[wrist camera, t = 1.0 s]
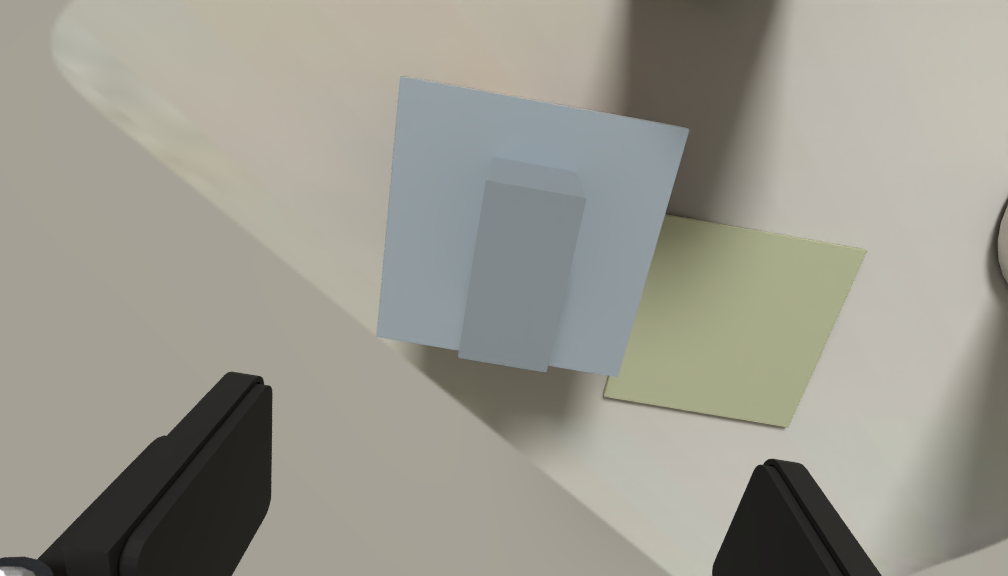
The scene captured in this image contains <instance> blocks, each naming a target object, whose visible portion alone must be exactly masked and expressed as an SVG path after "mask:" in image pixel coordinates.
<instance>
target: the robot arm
mask: <svg viewBox="0 0 1008 576" xmlns="http://www.w3.org/2000/svg"><path fill="white" fill-rule="evenodd" d="M998 260H999V264H1000V267H1001V270H1002V274H1003V276H1004V278H1005V280H1006V281H1007V283H1008V205H1007V208H1006V211H1005V213H1004V216H1003V219H1002V221H1001V225H1000V231H999V237H998ZM271 459H272V388H271V386H268V385H264V381H263V378H262V377H261V376H255V375H249V374H242V373H236V372H228V373H227V374H225V375H224V377H222V379H220V381H219V382H218V383H217V384H216V385H215V386H214V387H213V388H212V389H211V390H210V391H209V392H208V393H207V394H206V395H205V396H204V397H203V398H202V399H201V401H200V402H199V403H198V404H197V405H196V406H195V407H194V408H193V409H192V410H191V411H190V412H189V413H188V414H187V415H186V416H185V417H184V418H183V419H182V420H181V422H180V423H179V424H178V425H177V426H176V427H175V428H174V429H173V430H172V431H171V432H170V433H169V434H168V435H167V436H162V437H159V438H157V439H156V440H154V441H153V442H152V443H151V444H150V445H149V446H148V447H147V448H146V449H145V450H144V451H143V452H142V453H141V454H140V455H139V456H138V457H137V458H136V459H135V460H134V461H133V462H132V463H131V464H130V465H129V466H128V467H127V468H126V469H125V470H124V471H123V472H122V473H121V474H120V475H119V476H118V477H117V479H115V480H114V481H113V483H111V485H110V486H108V488H107V489H106V490H105V491H104V492H103V493H102V494H101V495H100V496H99V497H98V498H97V499H96V500H95V501H94V502H93V503H92V504H91V505H90V506H89V507H88V508H87V509H86V510H85V511H84V512H83V513H82V514H81V515H80V516H79V517H78V518H77V519H76V520H75V521H74V522H73V523H72V525H70V526H69V527H68V528H67V530H66V531H65V532H64V533H63V534H62V535H61V536H60V537H59V538H58V539H57V540H56V541H55V542H54V543H53V544H52V545H51V546H50V547H49V548H48V549H47V550H46V551H45V552H44V553H43V554H42V555H41V556H40V557H39V558H38V559H32V558H28V557H4V558H0V576H232V574H233V572H234V571H235V569H236V567H237V565H238V564H239V562H240V560H241V558H242V556H243V555H244V553H245V551H246V549H247V548H248V546H249V544H250V542H251V540H252V539H253V537H254V535H255V534H256V532H257V530H258V528H259V526H260V525H261V523H262V521H263V519H264V518H265V516H266V514H267V511H268V508H269V505H270V500H271V464H272V463H271V462H272V461H271ZM712 576H881V574H880V573H879V571H878V570H877V568H876V567H875V566H874V564H873V563H872V561H871V560H870V558H869V557H868V556H867V554H866V553H865V551H864V550H863V549H862V547H861V546H860V544H859V543H858V541H857V540H856V539H855V537H854V536H853V534H852V533H851V531H850V530H849V529H848V527H847V526H846V524H845V523H844V522H843V520H842V519H841V517H840V516H839V514H838V513H837V512H836V510H835V509H834V507H833V506H832V504H831V503H830V502H829V500H828V499H827V497H826V496H825V494H824V493H823V492H822V490H821V489H820V487H819V486H818V485H817V483H816V482H815V480H814V479H813V477H812V476H811V475H810V473H809V472H808V470H807V469H806V468H805V467H804V466H803V465H802V464H800V463H796V462H789V461H783V460H777V459H768V460H767V461H765V463H764V464H763V465H758V466H757V467H756V468H755V470H754V471H753V474H752V476H751V478H750V481H749V483H748V485H747V488H746V490H745V492H744V495H743V497H742V499H741V501H740V504H739V506H738V508H737V511H736V513H735V515H734V518H733V520H732V522H731V525H730V527H729V529H728V532H727V534H726V536H725V538H724V541H723V543H722V545H721V548H720V550H719V552H718V555H717V557H716V559H715V562H714V564H713V570H712Z"/></svg>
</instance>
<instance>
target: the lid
mask: <svg viewBox="0 0 1008 576" xmlns="http://www.w3.org/2000/svg"><path fill="white" fill-rule="evenodd" d="M689 130H690V129H687V128H685V127H682V126H676V125H671V124H665V123H660V122H654V121H649V120H643V119H638V118H632V117H627V116H621V115H616V114H610V113H605V112H599V111H594V110H588V109H583V108H577V107H572V106H566V105H561V104H555V103H550V102H544V101H539V100H533V99H528V98H523V97H517V96H512V95H506V94H501V93H495V92H490V91H484V90H479V89H473V88H468V87H462V86H457V85H451V84H446V83H440V82H435V81H429V80H424V79H418V78H413V77H407V76H402V77H400V85H399V96H398V106H397V117H396V128H395V139H394V150H393V161H392V172H391V183H390V194H389V205H388V216H387V227H386V238H385V249H384V260H383V271H382V282H381V293H380V304H379V315H378V326H377V337H381V338H387V339H392V340H398V341H404V342H410V343H416V344H422V345H428V346H434V347H440V348H446V349H452V350H458V351H459V353H458V358H462V359H468V360H474V361H480V362H486V363H492V364H497V365H503V366H509V367H515V368H521V369H527V370H533V371H539V372H545V373H546V372H547V368H548V366H553V367H559V368H565V369H571V370H577V371H582V372H588V373H594V374H600V375H606V376H612V377H618V375H619V372H620V368H621V365H622V361H623V358H624V354H625V351H626V347H627V344H628V341H629V337H630V334H631V330H632V327H633V323H634V320H635V316H636V313H637V309H638V306H639V303H640V299H641V296H642V292H643V289H644V285H645V282H646V278H647V275H648V272H649V268H650V265H651V261H652V258H653V254H654V251H655V247H656V244H657V240H658V237H659V234H660V230H661V227H662V223H663V220H664V216H665V213H666V209H667V206H668V202H669V199H670V196H671V192H672V189H673V185H674V182H675V178H676V175H677V171H678V168H679V164H680V161H681V158H682V154H683V151H684V147H685V144H686V140H687V137H688V133H689Z"/></svg>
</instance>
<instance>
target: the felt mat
mask: <svg viewBox="0 0 1008 576" xmlns="http://www.w3.org/2000/svg"><path fill="white" fill-rule="evenodd" d="M866 252H867V251H866V250H864V249H859V248H854V247H848V246H842V245H837V244H831V243H826V242H820V241H814V240H809V239H803V238H797V237H792V236H786V235H781V234H775V233H769V232H764V231H758V230H752V229H747V228H741V227H735V226H730V225H724V224H719V223H713V222H707V221H702V220H696V219H690V218H685V217H679V216H673V215H668V214H665V216H664V220H663V223H662V227H661V230H660V234H659V237H658V240H657V244H656V247H655V251H654V254H653V258H652V261H651V265H650V268H649V272H648V275H647V278H646V282H645V285H644V289H643V292H642V296H641V299H640V303H639V306H638V309H637V313H636V316H635V320H634V323H633V327H632V330H631V334H630V337H629V341H628V344H627V347H626V351H625V354H624V358H623V361H622V365H621V368H620V372H619V375H618V377H612V376H608V378H607V381H606V385H605V388H604V392H603V395H604V397H609V398H615V399H621V400H627V401H633V402H639V403H645V404H651V405H657V406H663V407H669V408H675V409H681V410H687V411H693V412H699V413H705V414H711V415H717V416H723V417H729V418H735V419H741V420H747V421H753V422H759V423H765V424H771V425H777V426H783V427H789V425H790V423H791V420H792V418H793V416H794V414H795V412H796V409H797V407H798V405H799V403H800V400H801V398H802V396H803V394H804V391H805V389H806V387H807V385H808V382H809V380H810V378H811V376H812V373H813V371H814V369H815V367H816V364H817V362H818V360H819V358H820V355H821V353H822V351H823V349H824V346H825V344H826V342H827V340H828V337H829V335H830V333H831V331H832V329H833V326H834V324H835V322H836V320H837V317H838V315H839V313H840V311H841V308H842V306H843V304H844V302H845V299H846V297H847V295H848V293H849V290H850V288H851V286H852V284H853V281H854V279H855V277H856V275H857V272H858V270H859V268H860V266H861V263H862V261H863V259H864V257H865V254H866Z"/></svg>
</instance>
